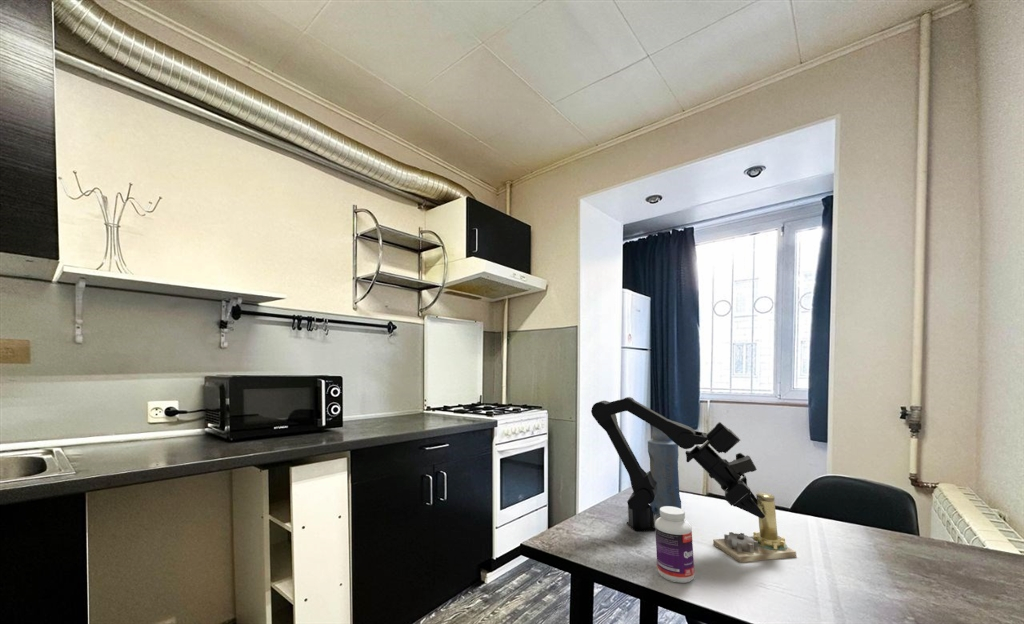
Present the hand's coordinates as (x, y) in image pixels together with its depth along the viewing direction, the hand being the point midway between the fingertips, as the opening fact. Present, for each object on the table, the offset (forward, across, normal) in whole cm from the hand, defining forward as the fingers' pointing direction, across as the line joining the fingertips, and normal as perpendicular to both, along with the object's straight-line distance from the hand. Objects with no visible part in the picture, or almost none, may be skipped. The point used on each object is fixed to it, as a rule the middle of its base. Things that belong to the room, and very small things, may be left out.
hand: (761, 511), depth 107 cm
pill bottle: (-7, -25, +21) cm, 33 cm away
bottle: (-11, +16, +25) cm, 32 cm away
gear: (+6, 0, +4) cm, 8 cm away
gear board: (+5, -3, +8) cm, 10 cm away
